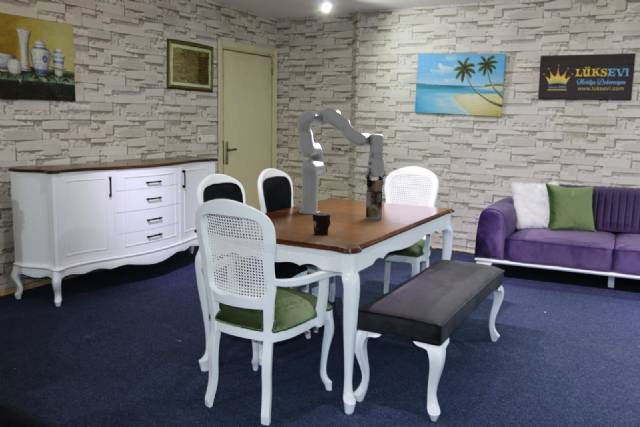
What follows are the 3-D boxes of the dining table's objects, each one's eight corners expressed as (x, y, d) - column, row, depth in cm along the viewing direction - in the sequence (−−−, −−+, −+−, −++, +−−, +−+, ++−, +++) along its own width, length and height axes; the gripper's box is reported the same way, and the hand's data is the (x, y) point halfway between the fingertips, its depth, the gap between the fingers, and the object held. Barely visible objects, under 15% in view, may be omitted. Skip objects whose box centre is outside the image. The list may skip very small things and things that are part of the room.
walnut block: (367, 190, 338) (367, 180, 337) (373, 190, 342) (374, 179, 341) (375, 191, 334) (375, 180, 333) (382, 191, 338) (382, 180, 337)
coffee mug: (311, 232, 290) (311, 212, 289) (328, 233, 291) (329, 212, 289) (313, 237, 279) (313, 216, 277) (331, 237, 279) (332, 216, 278)
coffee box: (381, 218, 343) (382, 190, 341) (381, 220, 337) (382, 191, 334) (365, 217, 344) (366, 189, 342) (365, 219, 338) (366, 191, 335)
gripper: (371, 156, 326) (370, 187, 329) (390, 156, 339) (389, 186, 341) (360, 156, 332) (359, 186, 334) (380, 155, 344) (379, 185, 346)
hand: (374, 186), depth 338 cm, fingers open, 9 cm apart
